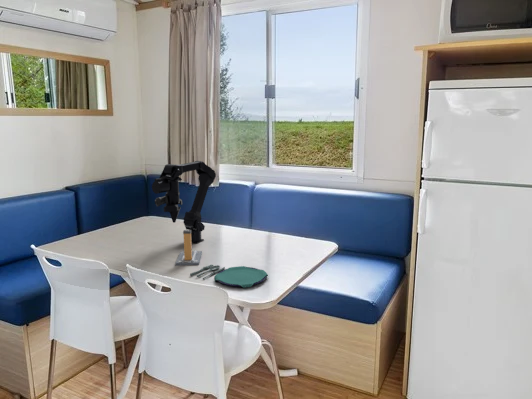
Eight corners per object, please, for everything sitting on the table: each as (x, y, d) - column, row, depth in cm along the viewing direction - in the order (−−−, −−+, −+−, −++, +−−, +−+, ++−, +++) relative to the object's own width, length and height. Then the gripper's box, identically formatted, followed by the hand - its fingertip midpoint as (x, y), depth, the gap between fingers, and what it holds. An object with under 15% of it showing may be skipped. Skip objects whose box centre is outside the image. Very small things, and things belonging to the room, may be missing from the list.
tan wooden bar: (184, 258, 183) (183, 230, 180) (192, 258, 183) (191, 230, 181) (184, 260, 181) (183, 231, 178) (191, 259, 181) (190, 231, 178)
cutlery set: (249, 294, 149) (249, 288, 149) (185, 278, 164) (185, 273, 164) (275, 276, 166) (275, 271, 166) (215, 264, 181) (215, 259, 181)
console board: (180, 253, 194) (180, 250, 193) (202, 253, 194) (201, 249, 194) (175, 265, 178) (175, 261, 178) (199, 264, 179) (198, 260, 178)
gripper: (159, 187, 205) (160, 218, 208) (151, 194, 187) (153, 227, 190) (181, 187, 206) (183, 217, 209) (176, 194, 188) (177, 227, 191)
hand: (174, 222), depth 200 cm, fingers closed
